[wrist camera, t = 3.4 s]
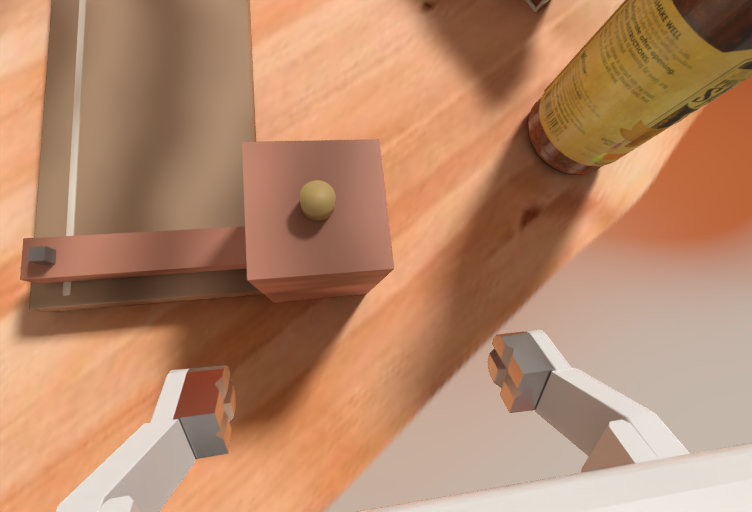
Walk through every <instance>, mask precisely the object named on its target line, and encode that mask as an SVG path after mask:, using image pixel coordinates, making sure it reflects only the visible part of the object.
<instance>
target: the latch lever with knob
mask: <svg viewBox="0 0 752 512" xmlns="http://www.w3.org/2000/svg"><path fill="white" fill-rule="evenodd" d="M242 156H243V183H244V209H245V226H242V227H224V228H206V229H188V230H169V231H151V232H133V233H115V234H97V235H79V236H61V237H43V238H24V239H23V251H22V263H21V276H20V280H24V281H29V282H34V283H39V284H43V283H57V282H71V281H84V280H98V279H112V278H126V277H139V276H153V275H167V274H180V273H194V272H208V271H221V270H235V269H247V281H249V282H250V283H251V284H252V285H253V286H254V287H256V288H257V289H258V290H259V291H260V292H261V293H263V294H264V295H265V296H266V297H267V298H268V299H270V300H271V301H272V302H273V303H276V302H287V301H298V300H310V299H321V298H332V297H344V296H355V295H366V294H367V293H368V292H369V291H370V290H371V289H373V288H374V287H375V286H376V285H377V284H378V283H379V282H380V281H381V280H382V279H384V278H385V277H386V276H387V275H388V274H389V273H390V272H391V271H392V270H393V269H394V263H393V255H392V246H391V237H390V228H389V220H388V211H387V202H386V194H385V185H384V176H383V167H382V159H381V150H380V141H379V139H375V140H325V141H275V142H242Z"/></svg>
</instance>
